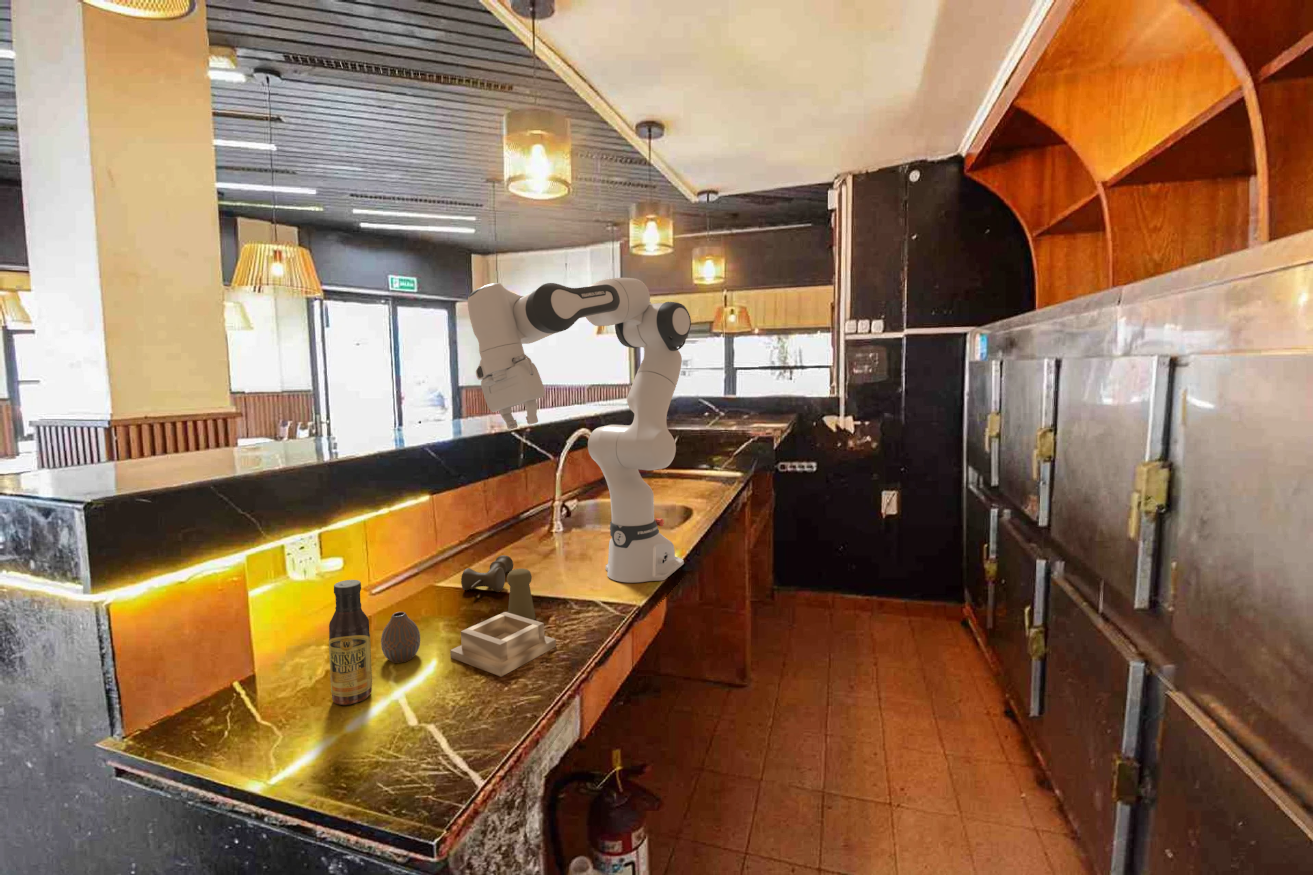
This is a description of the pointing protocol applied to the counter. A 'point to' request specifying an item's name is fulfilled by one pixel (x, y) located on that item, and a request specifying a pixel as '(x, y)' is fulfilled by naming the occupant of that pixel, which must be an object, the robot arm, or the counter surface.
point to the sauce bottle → (349, 646)
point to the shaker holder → (502, 643)
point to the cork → (520, 593)
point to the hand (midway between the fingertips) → (522, 426)
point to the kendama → (488, 575)
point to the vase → (400, 638)
